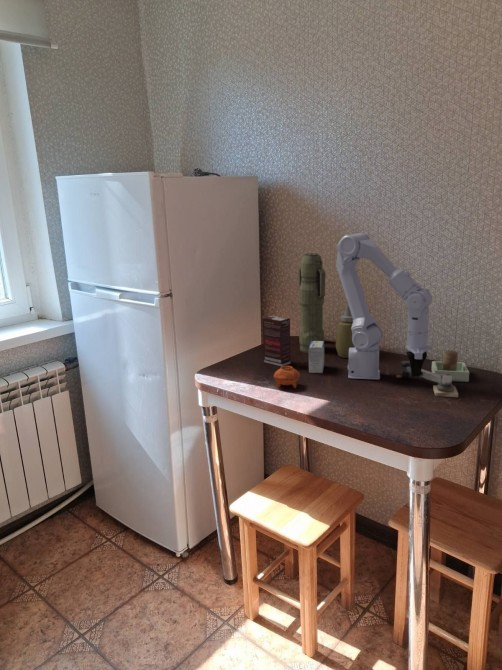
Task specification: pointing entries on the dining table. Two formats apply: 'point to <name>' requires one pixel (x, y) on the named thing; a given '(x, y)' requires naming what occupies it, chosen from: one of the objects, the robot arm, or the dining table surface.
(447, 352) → the plug
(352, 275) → the robot arm
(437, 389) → the crank mount
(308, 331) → the thermos
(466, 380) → the tray
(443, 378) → the crank lever
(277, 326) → the supplement box
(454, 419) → the dining table surface
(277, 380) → the pot
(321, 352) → the medicine box
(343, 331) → the squeeze bottle
